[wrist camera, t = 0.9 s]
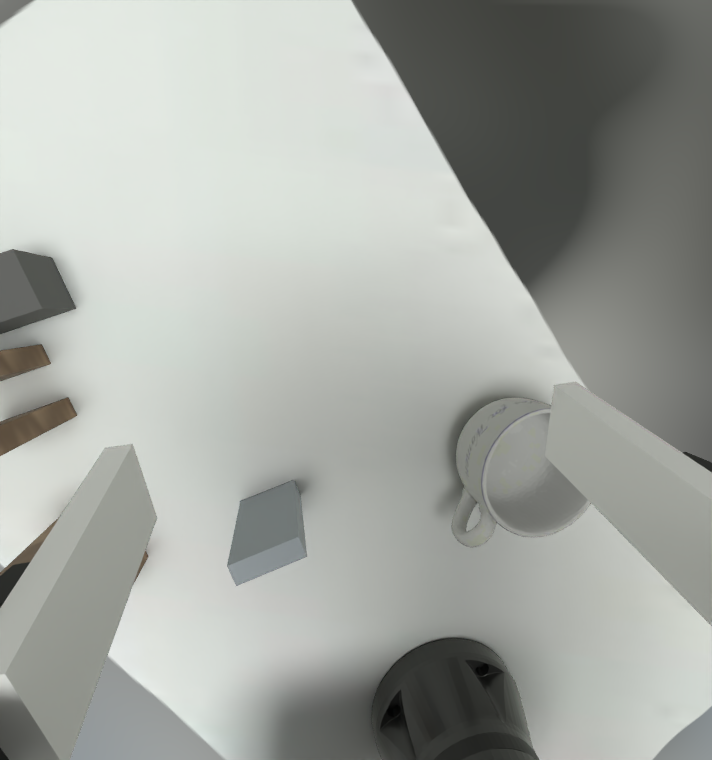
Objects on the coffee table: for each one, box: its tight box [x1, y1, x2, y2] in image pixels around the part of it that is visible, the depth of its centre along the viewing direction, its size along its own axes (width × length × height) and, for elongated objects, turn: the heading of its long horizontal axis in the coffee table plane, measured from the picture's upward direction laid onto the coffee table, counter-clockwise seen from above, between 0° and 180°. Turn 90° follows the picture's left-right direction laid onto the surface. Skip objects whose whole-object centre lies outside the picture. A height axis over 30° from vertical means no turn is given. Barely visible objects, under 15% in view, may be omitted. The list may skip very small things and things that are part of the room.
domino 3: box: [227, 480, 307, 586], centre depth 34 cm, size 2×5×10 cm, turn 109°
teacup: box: [451, 398, 591, 547], centre depth 38 cm, size 14×11×8 cm
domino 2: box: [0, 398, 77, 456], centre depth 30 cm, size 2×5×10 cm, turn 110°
